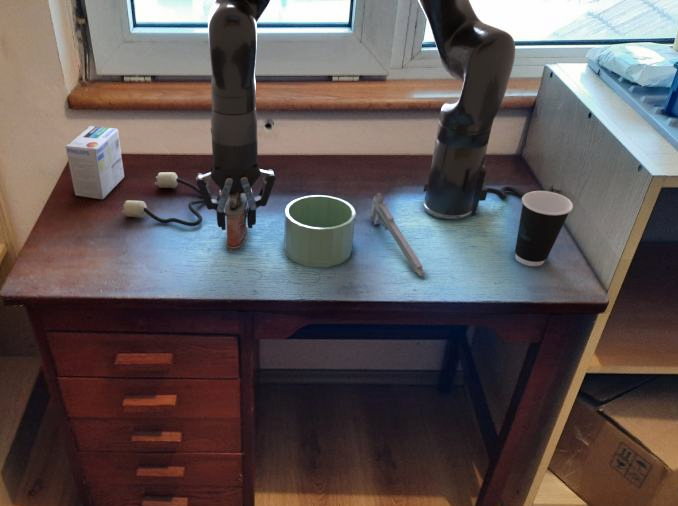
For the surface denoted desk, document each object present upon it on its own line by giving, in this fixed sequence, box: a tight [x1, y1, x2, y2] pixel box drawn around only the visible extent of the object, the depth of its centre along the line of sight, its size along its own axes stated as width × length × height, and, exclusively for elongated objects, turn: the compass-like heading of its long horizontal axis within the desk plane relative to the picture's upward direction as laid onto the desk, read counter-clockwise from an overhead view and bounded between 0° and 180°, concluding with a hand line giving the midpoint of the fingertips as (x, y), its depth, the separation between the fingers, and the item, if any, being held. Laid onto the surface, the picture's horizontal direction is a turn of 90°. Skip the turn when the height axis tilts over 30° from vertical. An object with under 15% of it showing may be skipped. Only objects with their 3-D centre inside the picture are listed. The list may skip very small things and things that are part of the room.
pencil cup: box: [283, 194, 357, 268], centre depth 115 cm, size 12×12×8 cm
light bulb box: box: [65, 125, 125, 200], centre depth 133 cm, size 11×7×11 cm, turn 164°
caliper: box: [369, 192, 426, 277], centre depth 116 cm, size 20×1×6 cm, turn 16°
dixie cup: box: [514, 190, 574, 267], centre depth 111 cm, size 8×8×11 cm
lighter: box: [224, 193, 248, 252], centre depth 117 cm, size 8×3×10 cm, turn 168°
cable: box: [121, 171, 205, 227], centre depth 129 cm, size 16×16×4 cm
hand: (236, 226), depth 118 cm, fingers open, 4 cm apart
